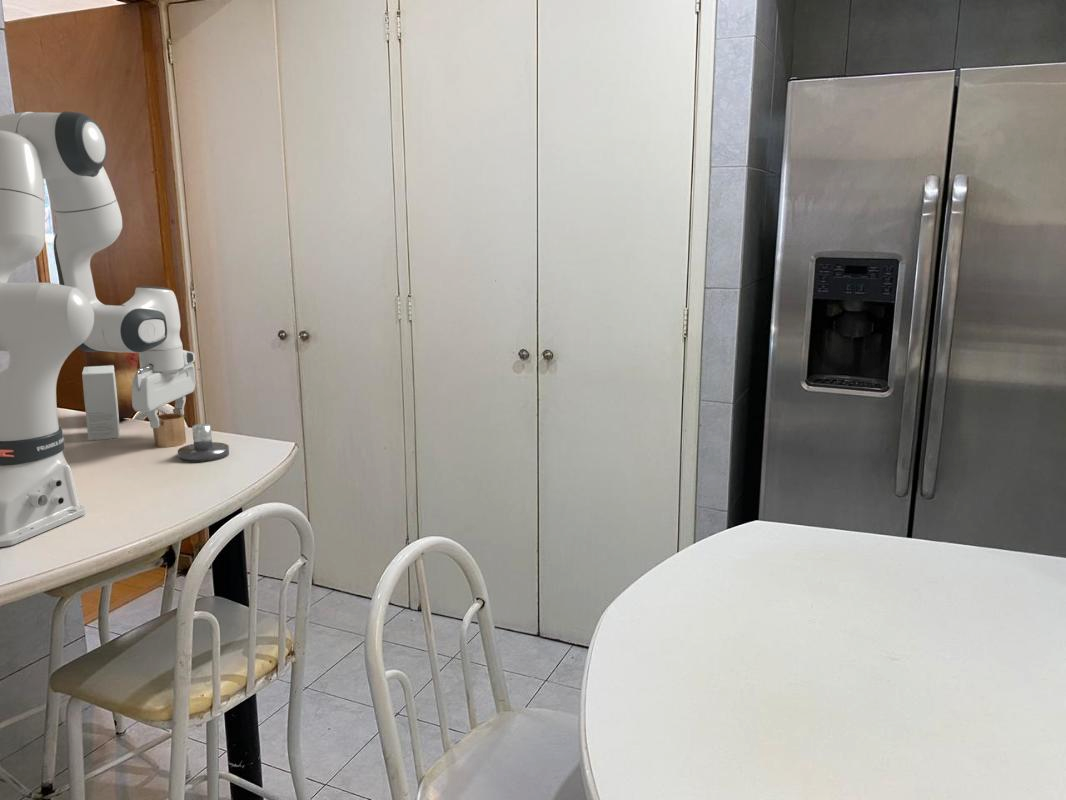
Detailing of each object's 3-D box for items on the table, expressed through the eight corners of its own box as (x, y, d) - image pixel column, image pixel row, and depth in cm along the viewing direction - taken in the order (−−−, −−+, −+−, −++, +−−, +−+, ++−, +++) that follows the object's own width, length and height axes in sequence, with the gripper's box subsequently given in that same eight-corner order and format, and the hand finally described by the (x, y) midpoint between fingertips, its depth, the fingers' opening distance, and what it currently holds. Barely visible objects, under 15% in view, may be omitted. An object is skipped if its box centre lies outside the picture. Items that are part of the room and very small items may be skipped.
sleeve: (176, 447, 179) (174, 420, 177) (148, 446, 179) (146, 419, 178) (191, 439, 185) (189, 413, 184) (164, 438, 186) (162, 412, 184)
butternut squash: (128, 427, 195) (117, 322, 189) (74, 426, 196) (61, 321, 190) (157, 413, 209) (148, 315, 203) (106, 412, 209) (95, 314, 204)
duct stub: (215, 463, 168) (212, 432, 166) (168, 461, 169) (165, 431, 167) (237, 449, 178) (235, 420, 176) (193, 448, 179) (191, 419, 177)
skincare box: (90, 432, 190) (82, 366, 187) (121, 429, 193) (114, 364, 189) (88, 441, 183) (80, 373, 179) (121, 438, 186) (113, 370, 182)
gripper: (149, 370, 168) (156, 435, 171) (198, 352, 188) (203, 410, 191) (120, 369, 169) (127, 434, 172) (172, 351, 188) (177, 409, 192)
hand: (167, 421), depth 182 cm, fingers open, 8 cm apart
